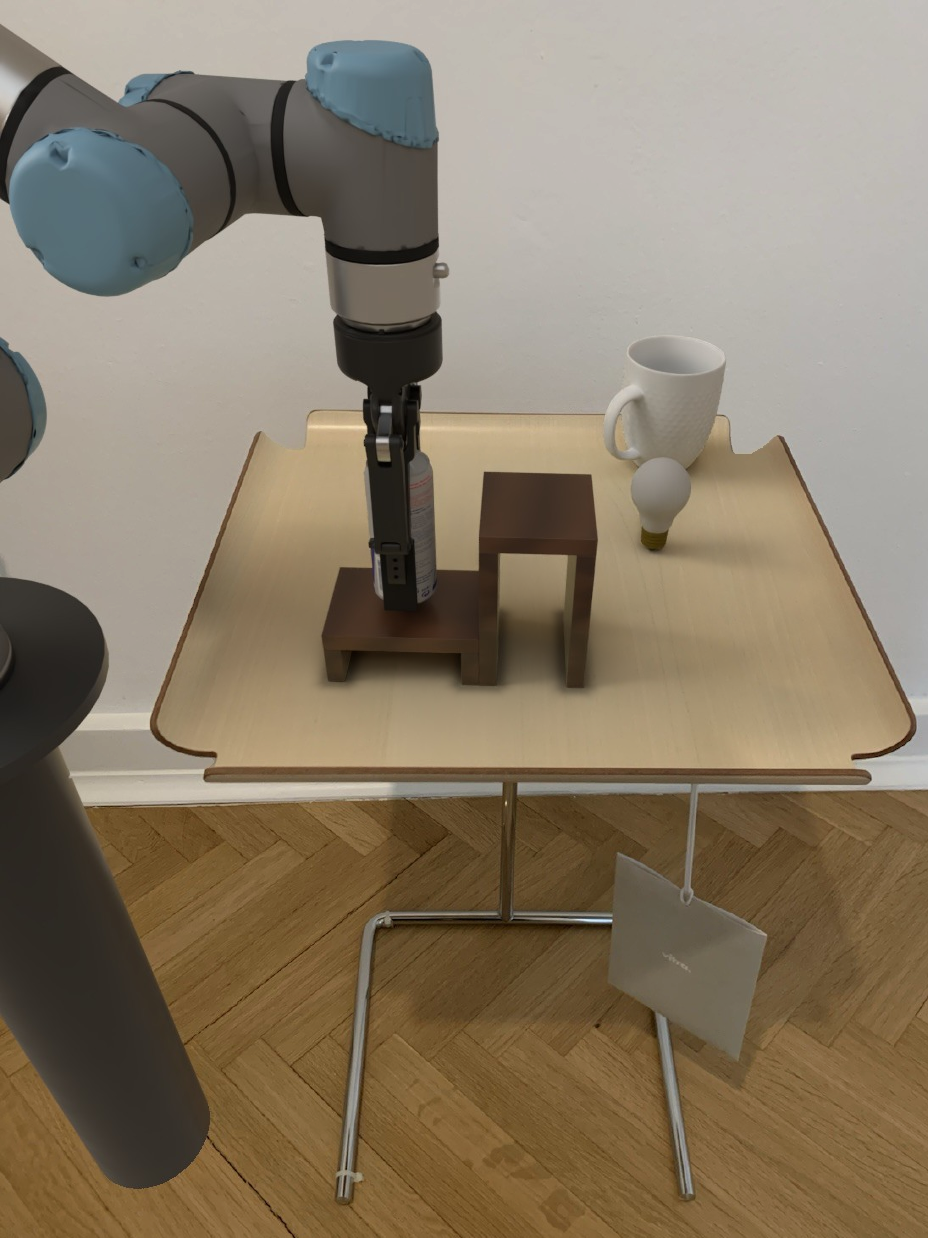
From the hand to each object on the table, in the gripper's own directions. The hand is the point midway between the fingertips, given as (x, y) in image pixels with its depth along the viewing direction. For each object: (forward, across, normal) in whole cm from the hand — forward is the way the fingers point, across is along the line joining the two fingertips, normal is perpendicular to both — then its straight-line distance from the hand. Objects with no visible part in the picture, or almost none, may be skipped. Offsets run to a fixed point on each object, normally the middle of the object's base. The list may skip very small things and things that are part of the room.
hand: (404, 586), depth 80 cm
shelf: (+7, 0, -4) cm, 8 cm away
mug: (+7, +35, -26) cm, 44 cm away
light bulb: (+7, +17, -24) cm, 30 cm away
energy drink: (0, 0, 0) cm, 1 cm away
